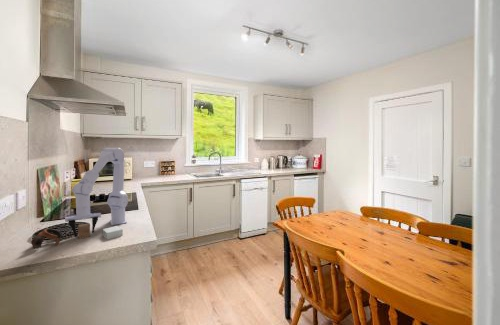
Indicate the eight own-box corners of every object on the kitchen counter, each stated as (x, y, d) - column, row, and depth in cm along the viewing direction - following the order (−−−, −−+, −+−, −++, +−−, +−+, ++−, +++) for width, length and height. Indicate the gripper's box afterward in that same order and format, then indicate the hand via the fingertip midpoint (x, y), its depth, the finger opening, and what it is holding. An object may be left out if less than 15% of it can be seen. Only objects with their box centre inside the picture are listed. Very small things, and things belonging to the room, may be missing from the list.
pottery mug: (40, 242, 111) (51, 226, 113) (58, 251, 111) (68, 235, 113) (18, 247, 100) (31, 229, 101) (39, 257, 100) (51, 239, 101)
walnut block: (79, 235, 119) (78, 224, 119) (90, 233, 122) (89, 223, 121) (78, 238, 115) (78, 227, 115) (89, 236, 118) (89, 226, 117)
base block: (102, 235, 120) (102, 229, 119) (117, 232, 125) (117, 225, 125) (107, 239, 115) (107, 232, 115) (122, 235, 120) (122, 229, 120)
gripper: (63, 210, 110) (65, 239, 111) (100, 206, 118) (101, 233, 119) (65, 207, 116) (66, 234, 117) (100, 203, 124) (101, 228, 125)
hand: (84, 233), depth 118 cm, fingers open, 7 cm apart
